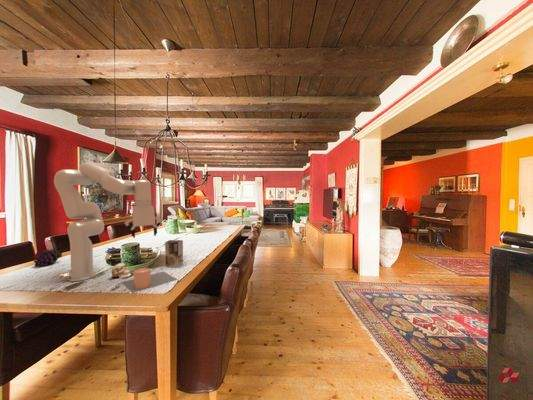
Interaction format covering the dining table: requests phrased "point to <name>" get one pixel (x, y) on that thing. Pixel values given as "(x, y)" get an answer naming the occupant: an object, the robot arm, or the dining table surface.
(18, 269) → the dining table surface
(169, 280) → the mat
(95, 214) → the robot arm
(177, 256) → the coffee box
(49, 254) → the fruit
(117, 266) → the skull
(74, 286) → the dining table surface
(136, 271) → the cup
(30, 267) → the dining table surface
